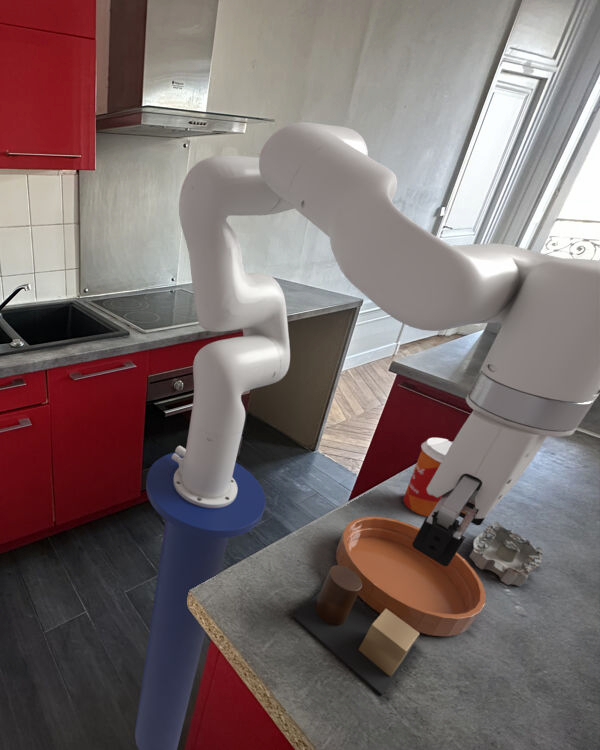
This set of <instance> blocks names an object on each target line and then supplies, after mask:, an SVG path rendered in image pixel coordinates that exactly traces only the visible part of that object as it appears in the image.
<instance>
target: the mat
mask: <svg viewBox="0 0 600 750" xmlns="http://www.w3.org/2000/svg"><path fill="white" fill-rule="evenodd" d="M320 592H321V589H320V590H319V591H318V592H317V593H316V594H315V595H314V596H313V597H311V598H310V599H309V600H308V601H307V602H306V603H305V604H304V605H303V606H302V607H301V608H300V609H299V610H298V611H297V612H296V613H294V615H293V616H292V618H293V619H294V620H295V621H296V622H297V623H299V624H300V625H301V626H302V627H303V628H304V629H305V630H307V632H308V633H310V634H311V635H312V636H313V637H314V638H316V640H318V641H319V642H320V643H321V644H322V645H323V646H324V647H326V648H327V649H328V650H329V651H330V652H331V653H332V654H334V655H335V656H336V657H337V659H339V660H340V661H341V662H343V664H345V665H346V666H347V667H348V668H349V669H350V670H351V671H353V672H354V674H356V675H357V676H358V677H359V678H360V679H362V680H363V681H364V682H365V683H366V684H367V685H368V686H370V688H371V689H372V690H374V692H376V693H377V694H378V695H379V696H381V697H382V696H383V695H384V694H385V692H386V691H387V690H388V688H389V687H390V685H391V684H392V682H393V681H394V679H395V678H396V677H397V676H398V674H399V673H400V671H401V670H402V668H403V667H404V666H405V665H406V663H407V662H408V660H409V659H410V657H411V656H412V655H413V654H414V652H415V650H416V649H417V647H416V646H414V644H413V645H412V647H411V648H410V650H409V651H408V653H407V655H406V656H405V658H404V659H403V661H402V662H401V664H400V665H399V666H398V668H397V669H396V670H395V672H394V673H393V674H392V676H391V677H390V676H389V675H388V674H386V673H385V672H384V671H383V670H382V669H380V668H379V667H378V666H377V665H376V664H375V663H373V662H372V661H371V660H370V659H369V658H367V657H366V656H365V655H364V654H363V653H362V652H360V651H359V648H360V646H361V644H362V642H363V640H364V638H365V636H366V634H367V633H368V631H369V629H370V627H371V625H372V624H373V622H374V621H375V620H376V619H377V618H378V617H377V616H376V615H374V614H373V613H372V612H371V611H369V610H368V609H366V608H365V607H364V606H362V605H361V604H360V603H359V602H357V601H356V600H355V602H354V604H353V606H352V608H351V610H350V612H349V614H348V617H347V619H346V621H345V623H344V624H343V625H340V626H334V625H331V624H329V623H327V622H325V621H324V620H323V619H322V618H321V617H320V616H319V615H318V614H317V612H316V609H315V604H316V601H317V599H318V596H319V594H320Z"/></svg>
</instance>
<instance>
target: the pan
mask: <svg viewBox="0 0 600 750" xmlns="http://www.w3.org/2000/svg"><path fill="white" fill-rule="evenodd" d="M419 530H420V528H419V527H417V526H415V525H413V524H410V523H406V522H404V521H400V520H397V519H393V518H389V517H384V516H361V517H359V518H356V519H353V520H352V521H350V522H349V523H348V524H347V525H346V526H345V528H344V530H343V532H342V535H341V537H340V539H339V542H338V544H337V547H336V549H335V551H336V552H335V553H336V554H335V559H336V563H337V565H340V566H344V567H347V568H349V569H351V570H352V571H354V572H355V573H356V574H357V575H358V576H359V578H360V579H361V582H362V587H361V589H360V592H359V594H358V596H357V597H359V598H360V599H362V601H363V602H364V603H365V604H367V605H368V606H369V607H370V608H372V609H373V610H374V611H376V612H377V613H379V615H380V614H381V613H382V612H383V611H384V610H385V609H388V610H389V611H390V612H392V613H393V614H394V615H396V616H397V617H398V618H400V619H401V620H402V621H404V622H405V623H406V624H408V625H409V626H411V627H412V628H413V629H415V630H416V631H417V632H419V634H420V633H421V634H424V635H428V636H434V637H435V636H436V637H452V636H458V635H461V634H463V633H464V632H466V631H467V630H469V629H470V627H471V626H472V624H473V623H474V621H475V620H476V619H477V617H478V616H479V615H480V613H481V612H482V610H483V608H484V607H485V605H486V596H487V595H486V591H485V588H484V584H483V582H482V580H481V578H480V577H479V575H478V574H477V572H476V570H475V569H474V568H473V567H472V566H471V565H470V563H469V562H468V561H467V560H466V559H465V558H464V557H462V556H461V554H459V553H458V551H457V552H456V554H455V556H454V557H453V559H452V561H451V562H450V564H449V565H448V566H443V565H441V564H440V563H438V562H436V561H435V560H433V559H431V558H430V557H428V556H426V555H425V554H423V553H422V552H420V551H418V550H417V549H415V548H414V547H413V546H412V543H413V541H414V539H415V538H416V536H417V534H418V532H419Z"/></svg>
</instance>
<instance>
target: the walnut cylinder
mask: <svg viewBox="0 0 600 750" xmlns="http://www.w3.org/2000/svg"><path fill="white" fill-rule="evenodd" d="M361 587H362V582H361V579H360V578H359V576H358V575H357V574H356V573H355V572H354V571H352V570H351V569H349V568H347V567H344V566H340V565H338V564H337V565H332V566H331V567H330V568H329V571H328V573H327V575H326V577H325V579H324V582H323V585H322V587H321V589H320V590H321V592H320V594H319V596H318V599H317V601H316V604H315V609H316V612H317V614H318V615H319V616H320V617H321V618H322V619H323V620H324V621H325V622H327V623H329V624H331V625H334V626H340V625H343V624H344V623H345V621H346V619H347V617H348V614H349V612H350V610H351V608H352V606H353V604H354V602H355V601H356V600H357V598H358V597H359V596H358V594H359V592H360V589H361Z"/></svg>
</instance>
